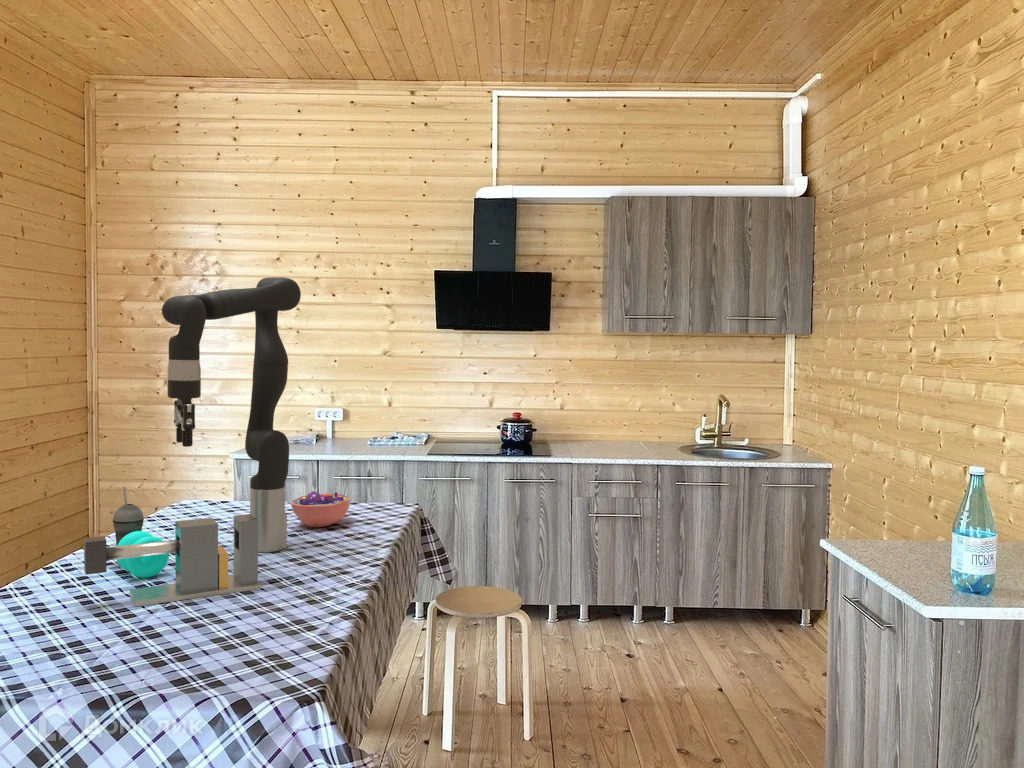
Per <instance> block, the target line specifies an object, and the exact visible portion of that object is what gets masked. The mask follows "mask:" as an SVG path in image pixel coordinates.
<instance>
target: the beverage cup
mask: <svg viewBox="0 0 1024 768" xmlns="http://www.w3.org/2000/svg"><path fill="white" fill-rule="evenodd" d="M126 489H127V488H126V486H123V487H122V490H123V499H124V504H122V505H120V506H119V507H118V508H117V509H116V510H115V512H114V514H113V516H112V523H113V530H114V534H115V543H116V546H117V545H118V543H119V542H120V540H121V539H122V538H123V537H124V536H126V535H127V534H129V533H131V532H135V531H143V525H144V521H145V518H144V514H143V511H142V510H141V508H140V507H139V506H137V505H136V504H133V503H128V499H127V491H126ZM118 566H119V567H120V568H122V567H121V566H120V565H119V564H118Z"/></svg>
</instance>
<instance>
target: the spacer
mask: <svg viewBox="0 0 1024 768" xmlns="http://www.w3.org/2000/svg"><path fill="white" fill-rule="evenodd" d="M228 576H229V553H228V552H227V551H226V549H225V548H224V547H223V546H222V545H218V588H219V589H223V588H228Z"/></svg>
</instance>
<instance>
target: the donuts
mask: <svg viewBox="0 0 1024 768" xmlns="http://www.w3.org/2000/svg"><path fill="white" fill-rule="evenodd" d="M162 541H164V540H163V539H162V538H159V537H157V536H153V534H152V533H149V532H148V531H144V530H142V531H135V532H131V533H129V534H127V535H126V536H124V537H123V538H122V539H121V540H120V542H119V543H118V545H116V546H124V545H134V544H143V543H153V542H162ZM169 557H170V553H168V554H159V555H150V556H142V557H133V558H124V559H115V560H116V563H117V564H118V566H119V565H120V566H121V567H120V566H119V567H120V568H122V569H124V570H125V571H128V572H129V573H130V574H131V575H133V576H135V577H137V578H141V579H149V578H152V577H155V576H156V575H158V574H159V573H161V572H162V571H163V570H164V569H165V568H166V566H167V564H168V561H169V559H170V558H169Z"/></svg>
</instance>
